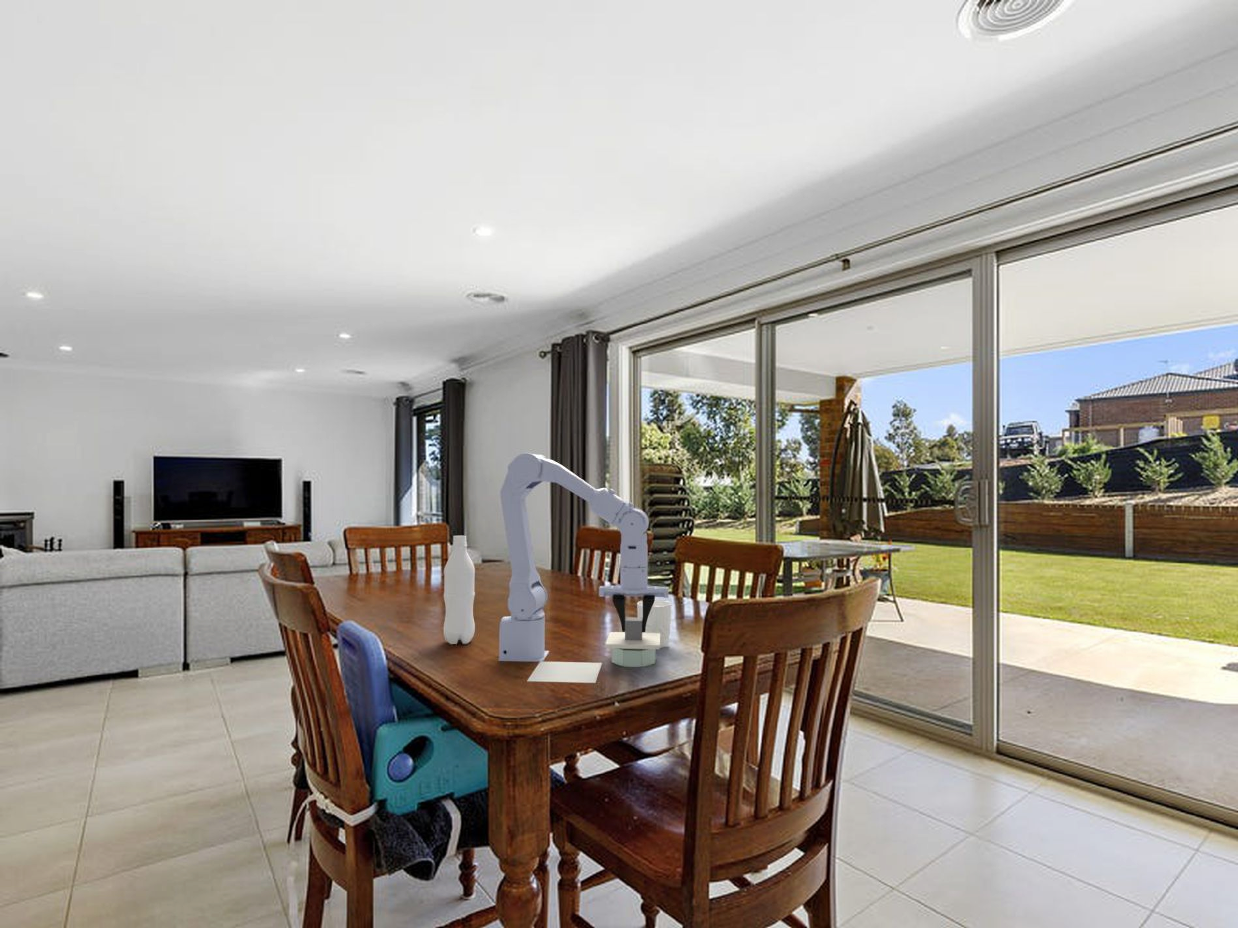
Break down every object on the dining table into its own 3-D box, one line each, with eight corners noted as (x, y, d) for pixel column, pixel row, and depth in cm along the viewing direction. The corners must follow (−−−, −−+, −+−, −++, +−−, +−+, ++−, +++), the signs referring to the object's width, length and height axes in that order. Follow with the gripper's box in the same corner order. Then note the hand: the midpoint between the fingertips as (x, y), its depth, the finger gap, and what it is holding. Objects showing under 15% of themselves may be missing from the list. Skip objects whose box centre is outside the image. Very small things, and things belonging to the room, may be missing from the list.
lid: (605, 648, 131) (605, 624, 132) (610, 635, 142) (610, 613, 143) (659, 649, 131) (659, 625, 131) (660, 636, 142) (660, 614, 142)
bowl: (610, 669, 132) (610, 650, 132) (614, 657, 141) (614, 639, 141) (654, 670, 132) (654, 651, 132) (655, 658, 141) (655, 639, 141)
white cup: (669, 651, 145) (669, 606, 146) (634, 649, 147) (634, 605, 147) (673, 642, 153) (673, 600, 153) (640, 641, 155) (640, 599, 155)
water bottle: (470, 646, 150) (471, 537, 150) (439, 646, 150) (440, 537, 150) (477, 638, 157) (478, 534, 157) (448, 638, 157) (448, 534, 158)
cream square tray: (526, 683, 123) (526, 680, 123) (540, 663, 136) (540, 661, 136) (595, 685, 122) (595, 682, 122) (602, 665, 135) (602, 662, 135)
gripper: (597, 568, 133) (597, 634, 133) (668, 569, 132) (668, 636, 132) (601, 563, 140) (600, 626, 140) (668, 564, 139) (668, 628, 139)
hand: (633, 631), depth 137 cm, fingers closed on lid, 3 cm apart
